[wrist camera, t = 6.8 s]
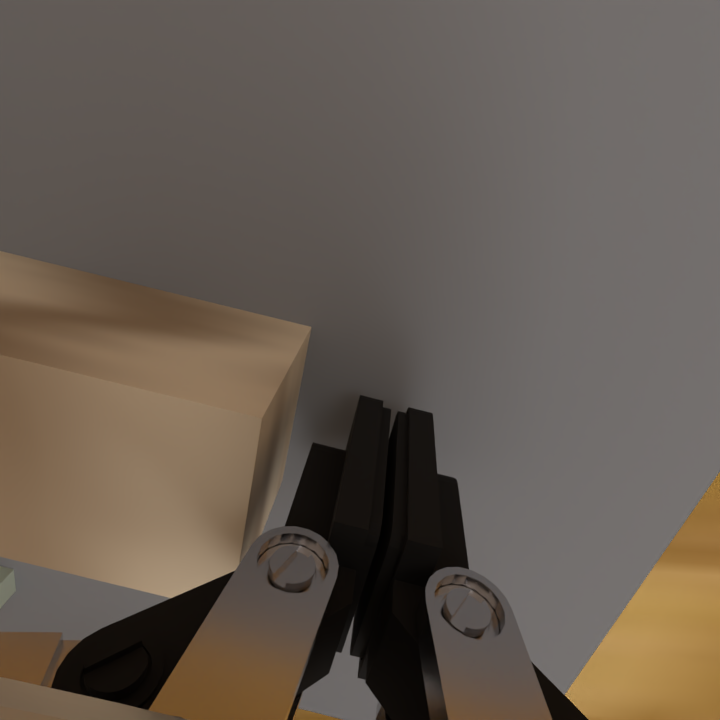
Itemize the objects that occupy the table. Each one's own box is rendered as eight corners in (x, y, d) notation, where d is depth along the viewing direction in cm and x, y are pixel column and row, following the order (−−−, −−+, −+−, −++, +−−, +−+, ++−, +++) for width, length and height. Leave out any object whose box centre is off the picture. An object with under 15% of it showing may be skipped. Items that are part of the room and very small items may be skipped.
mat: (1044, -86, 8) (1381, -207, 5) (511, 731, 18) (529, 837, 15) (-528, -502, 8) (-1047, -858, 5) (-171, 560, 18) (-276, 635, 15)
